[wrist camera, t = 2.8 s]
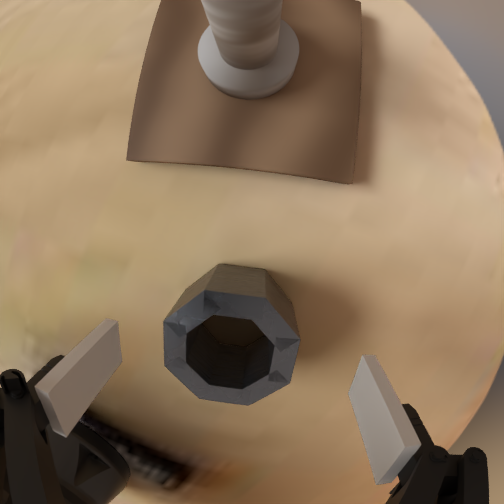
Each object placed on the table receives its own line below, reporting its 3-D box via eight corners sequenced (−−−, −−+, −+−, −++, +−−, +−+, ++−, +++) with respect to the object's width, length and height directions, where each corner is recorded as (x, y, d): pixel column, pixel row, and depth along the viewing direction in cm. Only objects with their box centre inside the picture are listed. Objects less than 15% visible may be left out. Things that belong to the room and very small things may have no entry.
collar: (183, 351, 21) (166, 392, 16) (187, 259, 19) (163, 283, 14) (279, 364, 21) (283, 408, 16) (297, 273, 19) (308, 302, 14)
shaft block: (135, 161, 18) (10, 148, 7) (171, -4, 15) (117, -96, 3) (345, 184, 18) (451, 187, 7) (355, 11, 15) (411, -83, 3)
